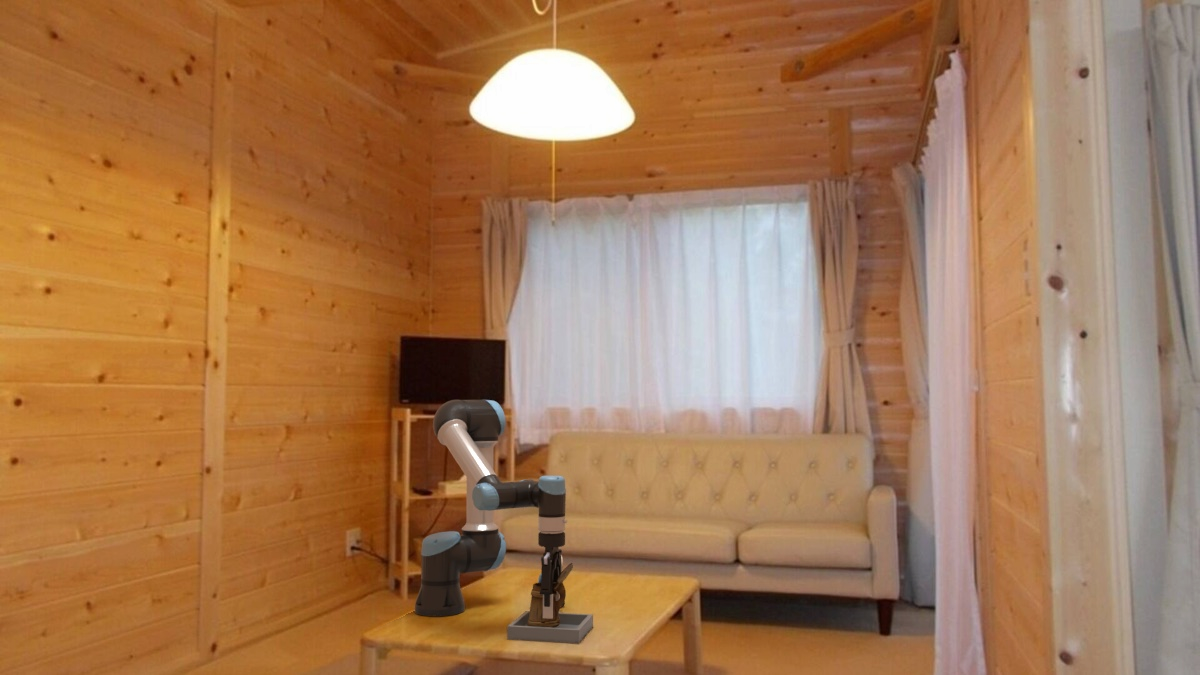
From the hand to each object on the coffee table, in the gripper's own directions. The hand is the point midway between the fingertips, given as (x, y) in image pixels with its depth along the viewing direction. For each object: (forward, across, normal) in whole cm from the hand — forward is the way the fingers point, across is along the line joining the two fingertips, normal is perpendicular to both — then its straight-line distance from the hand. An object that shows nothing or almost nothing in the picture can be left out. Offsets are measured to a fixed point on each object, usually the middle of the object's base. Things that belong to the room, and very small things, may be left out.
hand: (551, 614), depth 249 cm
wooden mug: (+3, 0, 0) cm, 3 cm away
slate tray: (+5, 0, 0) cm, 5 cm away
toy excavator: (+5, +30, +8) cm, 31 cm away
